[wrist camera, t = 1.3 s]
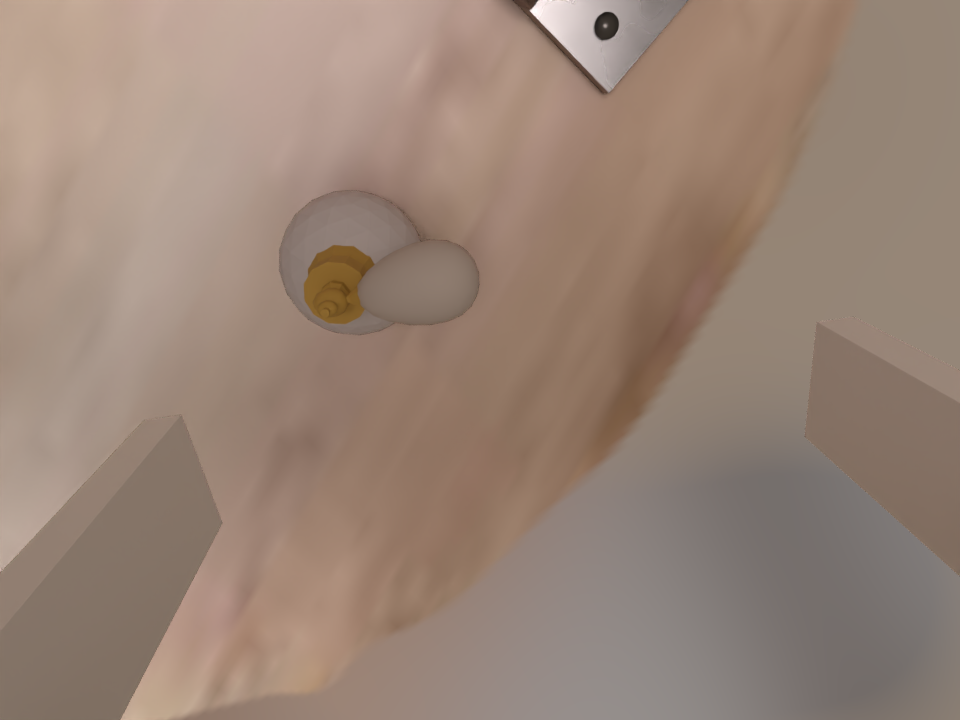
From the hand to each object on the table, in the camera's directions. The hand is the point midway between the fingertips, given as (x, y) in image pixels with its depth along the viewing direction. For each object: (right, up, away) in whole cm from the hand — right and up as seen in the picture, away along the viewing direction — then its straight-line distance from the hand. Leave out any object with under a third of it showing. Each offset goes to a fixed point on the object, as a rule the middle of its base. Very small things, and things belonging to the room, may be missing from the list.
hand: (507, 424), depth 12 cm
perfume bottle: (-6, +8, +22) cm, 24 cm away
